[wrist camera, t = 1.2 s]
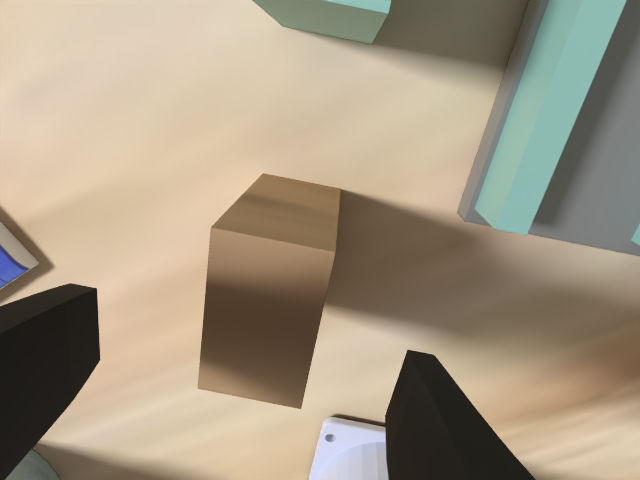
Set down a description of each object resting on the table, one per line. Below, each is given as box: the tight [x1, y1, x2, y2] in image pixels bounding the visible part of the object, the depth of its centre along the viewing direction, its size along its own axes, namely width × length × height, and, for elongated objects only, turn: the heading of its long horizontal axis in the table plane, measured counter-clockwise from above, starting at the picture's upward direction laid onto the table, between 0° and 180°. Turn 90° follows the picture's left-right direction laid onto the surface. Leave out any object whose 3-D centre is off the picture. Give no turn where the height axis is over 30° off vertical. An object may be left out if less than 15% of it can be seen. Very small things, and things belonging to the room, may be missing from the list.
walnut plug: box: [198, 173, 341, 409], centre depth 13 cm, size 5×3×6 cm, turn 170°
